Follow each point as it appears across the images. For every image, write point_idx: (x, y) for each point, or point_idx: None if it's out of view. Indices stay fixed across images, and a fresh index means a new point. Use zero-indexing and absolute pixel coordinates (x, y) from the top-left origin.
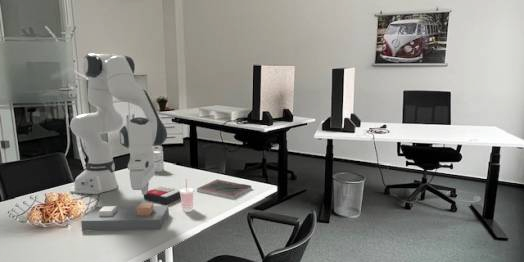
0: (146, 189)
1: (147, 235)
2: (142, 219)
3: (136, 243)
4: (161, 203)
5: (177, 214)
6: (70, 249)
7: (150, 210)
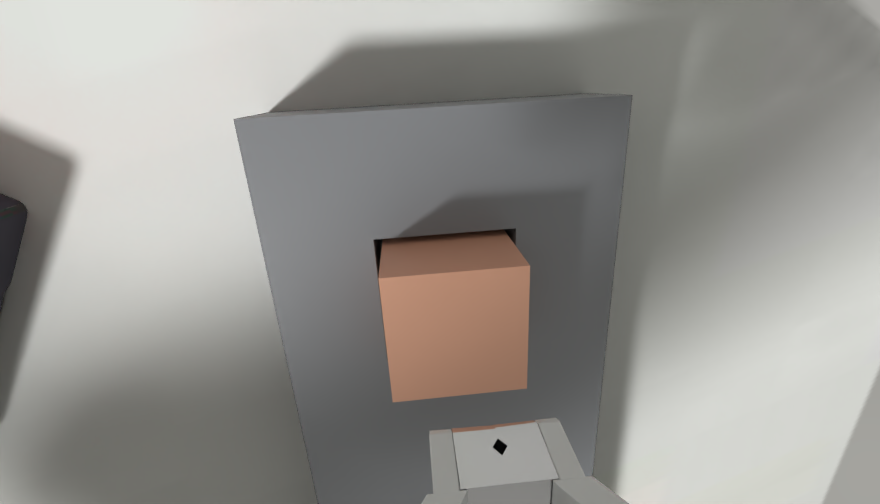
0: (532, 485)
1: (677, 170)
2: (605, 270)
3: (783, 204)
4: (13, 268)
5: (246, 17)
6: (757, 497)
7: (499, 252)
